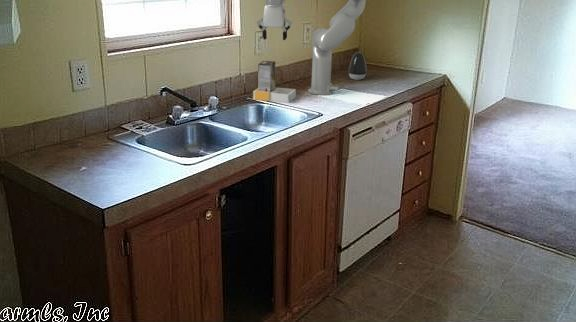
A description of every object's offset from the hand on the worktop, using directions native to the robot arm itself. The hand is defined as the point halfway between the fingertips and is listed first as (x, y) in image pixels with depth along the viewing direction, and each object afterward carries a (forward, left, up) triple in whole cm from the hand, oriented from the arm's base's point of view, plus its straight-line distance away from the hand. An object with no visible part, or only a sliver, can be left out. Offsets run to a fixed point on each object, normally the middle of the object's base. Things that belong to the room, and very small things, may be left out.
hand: (274, 39), depth 258 cm
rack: (-3, +8, -27) cm, 28 cm away
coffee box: (+1, +7, -26) cm, 27 cm away
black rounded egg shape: (-33, -51, -27) cm, 67 cm away
